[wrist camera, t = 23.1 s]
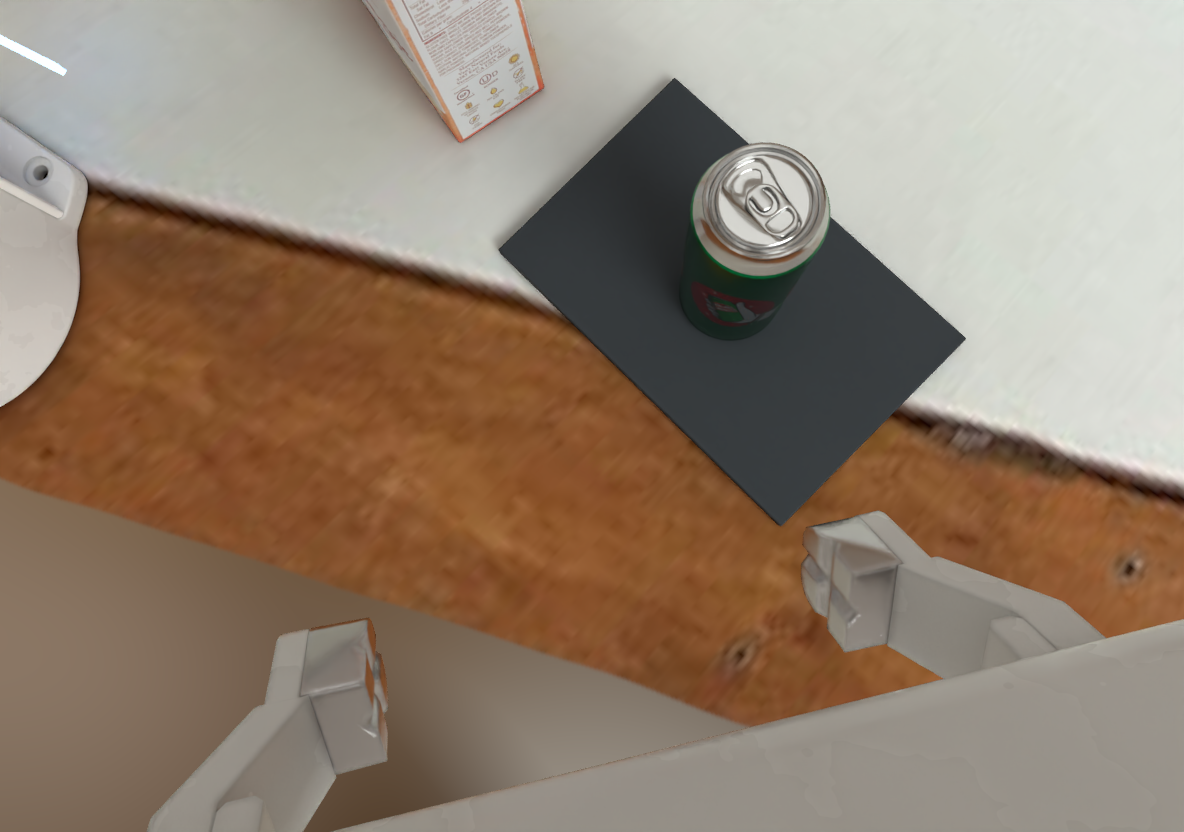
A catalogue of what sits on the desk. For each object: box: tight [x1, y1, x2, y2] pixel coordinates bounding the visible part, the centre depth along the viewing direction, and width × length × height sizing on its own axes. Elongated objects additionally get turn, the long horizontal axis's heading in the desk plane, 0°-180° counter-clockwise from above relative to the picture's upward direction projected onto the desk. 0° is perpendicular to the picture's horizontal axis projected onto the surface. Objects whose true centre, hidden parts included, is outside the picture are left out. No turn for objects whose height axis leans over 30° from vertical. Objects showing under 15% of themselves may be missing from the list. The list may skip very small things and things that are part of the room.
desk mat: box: [499, 78, 966, 526], centre depth 40 cm, size 20×13×1 cm, turn 45°
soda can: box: [679, 143, 830, 341], centre depth 33 cm, size 5×5×12 cm
